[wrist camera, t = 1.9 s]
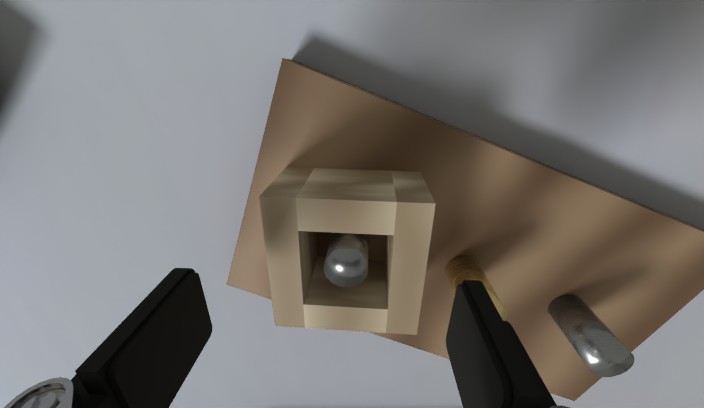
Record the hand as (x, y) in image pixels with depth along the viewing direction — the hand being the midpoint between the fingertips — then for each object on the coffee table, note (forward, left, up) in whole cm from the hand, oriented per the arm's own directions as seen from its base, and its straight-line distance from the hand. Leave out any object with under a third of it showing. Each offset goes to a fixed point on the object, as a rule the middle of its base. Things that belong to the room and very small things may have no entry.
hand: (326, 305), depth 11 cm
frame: (-1, 0, -6) cm, 6 cm away
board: (-8, 0, -8) cm, 11 cm away
